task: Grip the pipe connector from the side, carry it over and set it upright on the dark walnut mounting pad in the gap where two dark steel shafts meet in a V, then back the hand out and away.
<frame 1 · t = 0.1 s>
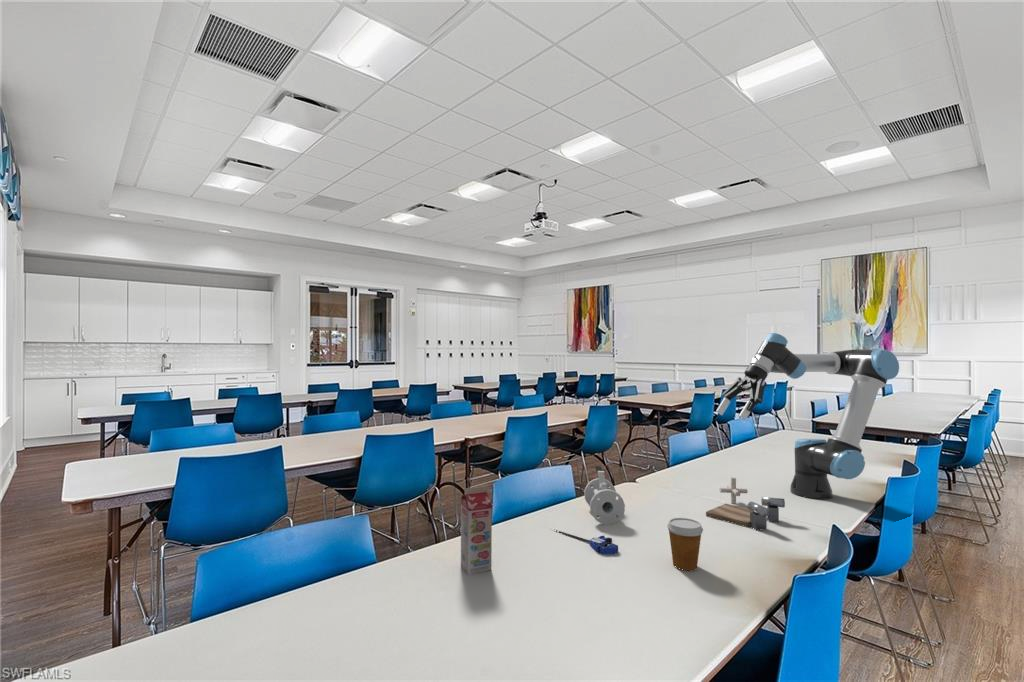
hand: (730, 415, 187), 36 cm above the table, tool tilted 35°, fingers open, 13 cm apart
bar clamp: (576, 539, 159), on the table
valve: (602, 515, 182), on the table
disposable coffee cup: (685, 566, 138), on the table
steel shaft B: (758, 528, 168), on the table
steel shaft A: (773, 520, 176), on the table
juice carton: (475, 568, 137), on the table
pipe connector: (733, 503, 195), on the table
mounting pad: (736, 516, 180), on the table
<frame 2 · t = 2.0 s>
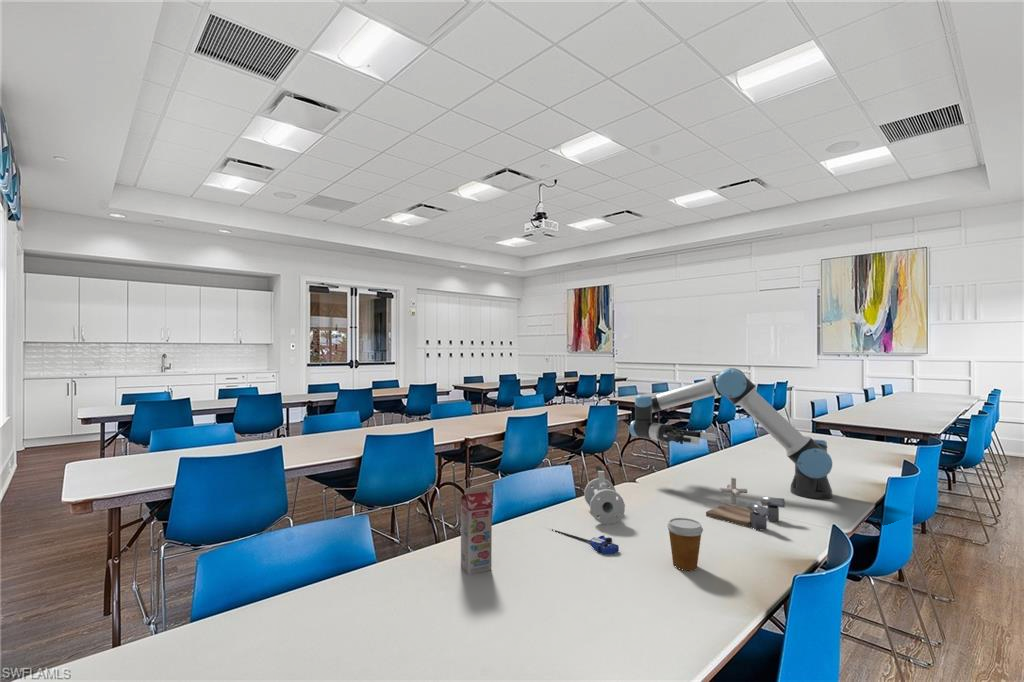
hand: (707, 439, 204), 24 cm above the table, tool horizontal, fingers open, 13 cm apart
nothing on the table moved.
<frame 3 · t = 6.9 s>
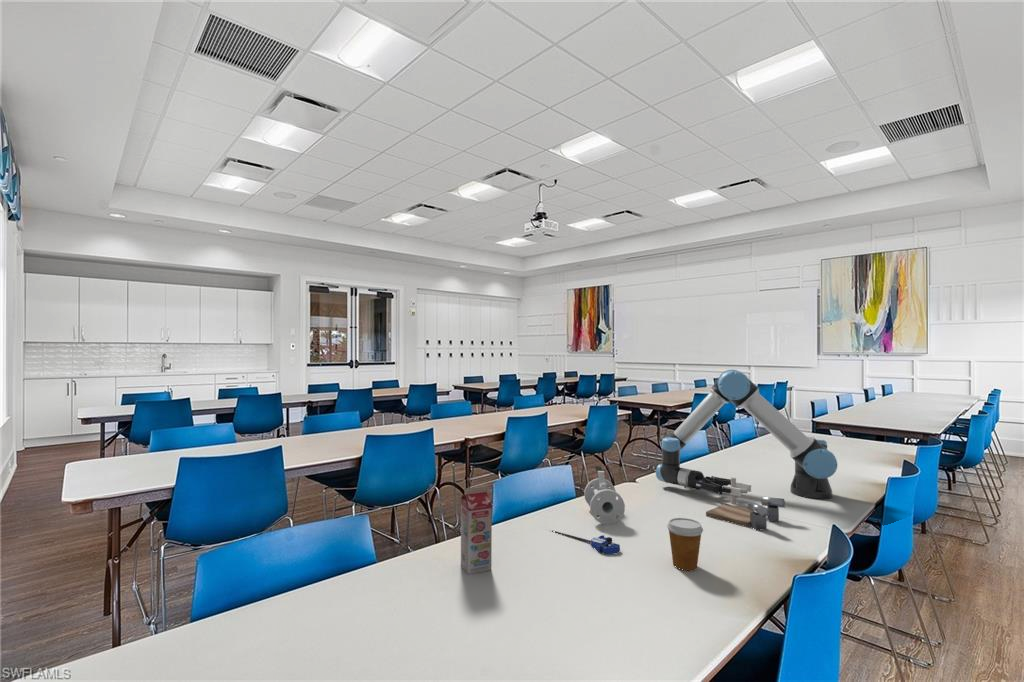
hand: (745, 490, 192), 6 cm above the table, tool horizontal, fingers closed on pipe connector, 8 cm apart
pipe connector: (733, 503, 195), on the table, touching gripper
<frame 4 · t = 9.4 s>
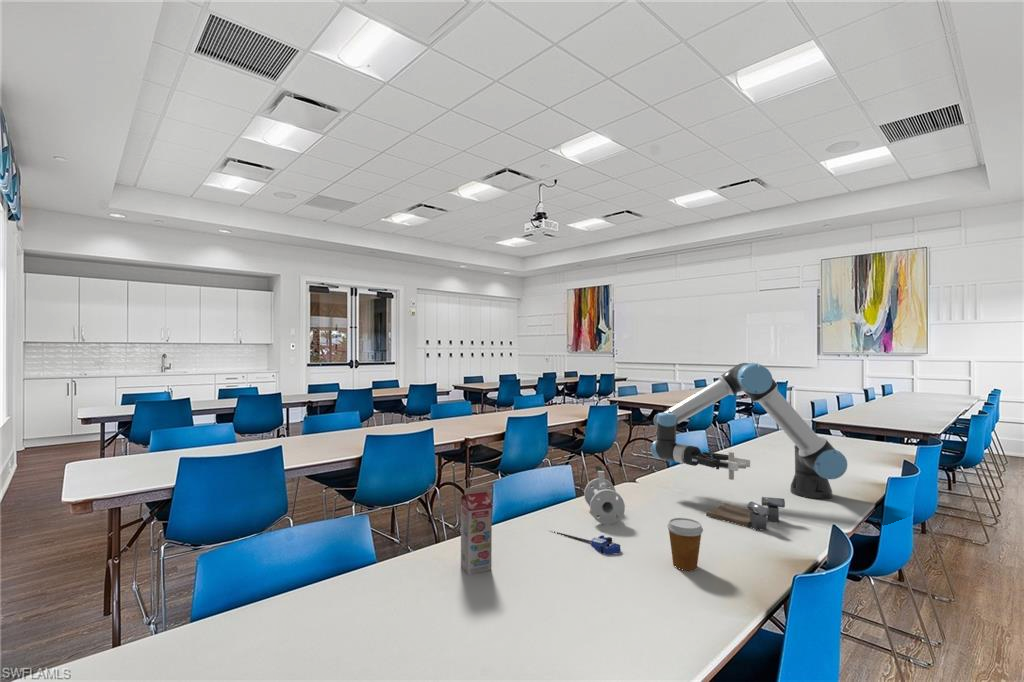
hand: (743, 465, 181), 18 cm above the table, tool horizontal, fingers closed on pipe connector, 8 cm apart
pipe connector: (731, 479, 185), point 12 cm above the table, touching gripper
when the fingers open (9 cm above the table, at t = 11.9 s): pipe connector drops 1 cm, resting on mounting pad.
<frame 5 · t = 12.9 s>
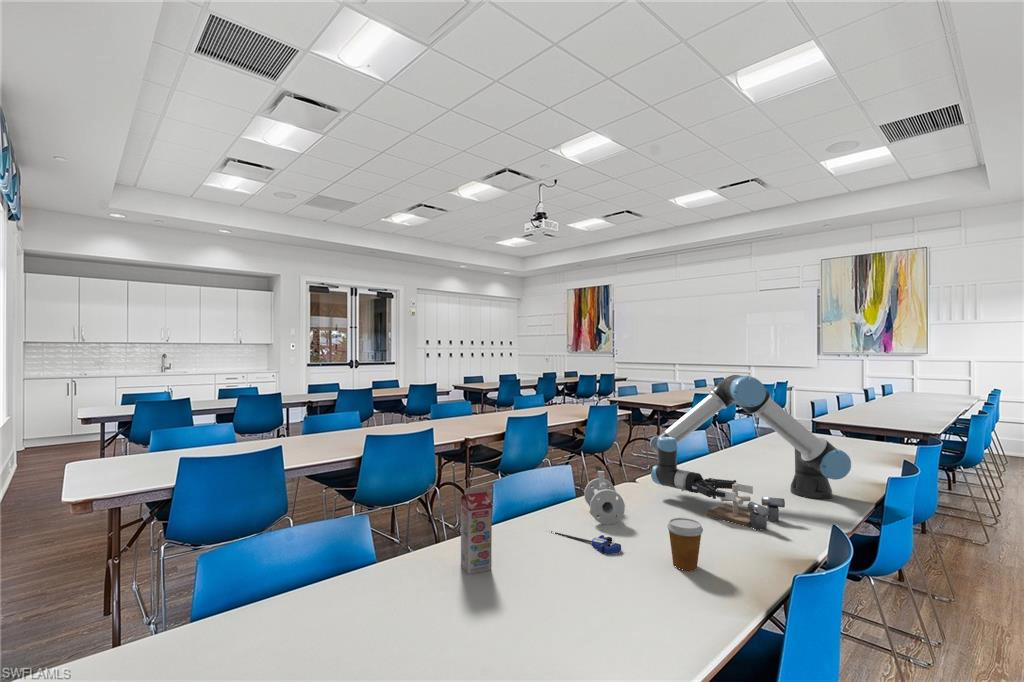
hand: (744, 493, 178), 9 cm above the table, tool horizontal, fingers open, 13 cm apart
pipe connector: (735, 513, 180), point 1 cm above the table, touching mounting pad
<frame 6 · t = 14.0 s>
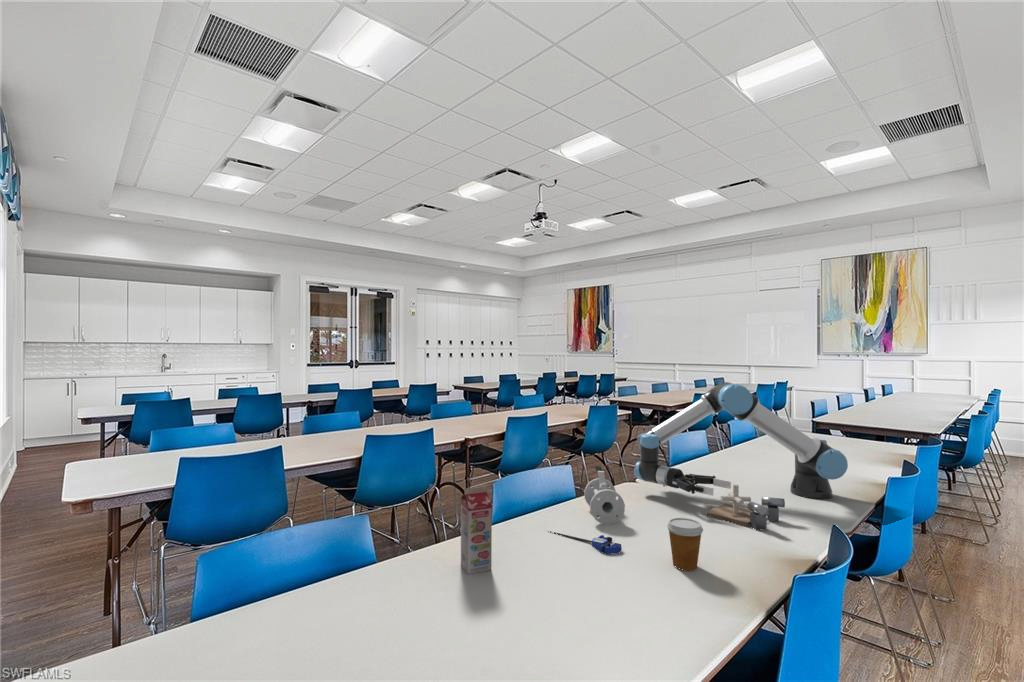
hand: (722, 488, 183), 9 cm above the table, tool horizontal, fingers open, 13 cm apart
nothing on the table moved.
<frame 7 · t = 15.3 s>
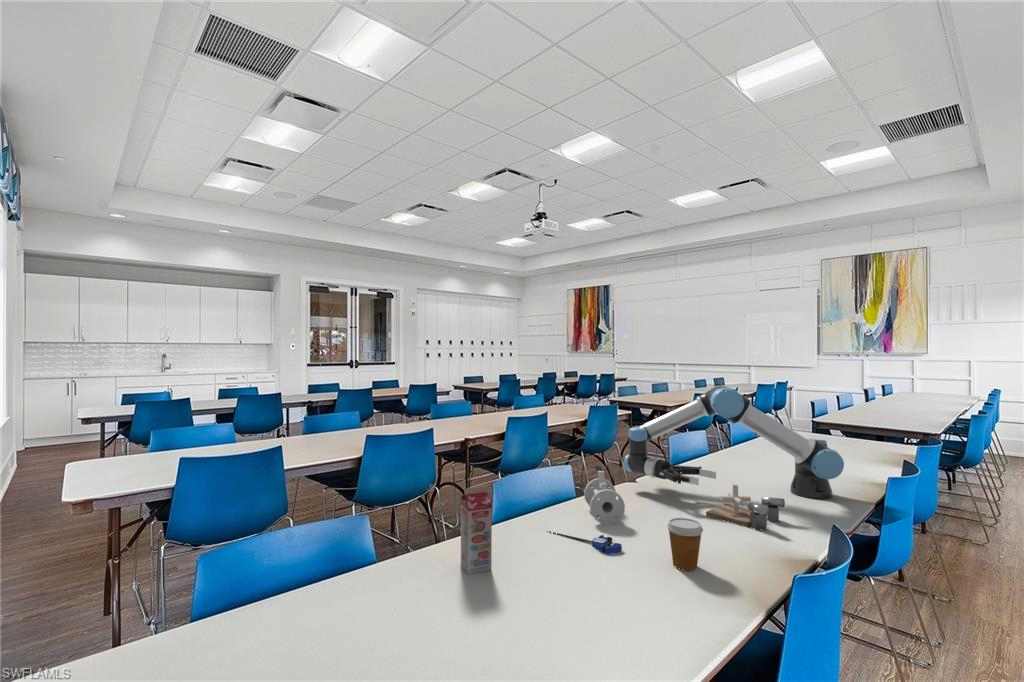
hand: (707, 478, 189), 11 cm above the table, tool horizontal, fingers open, 13 cm apart
nothing on the table moved.
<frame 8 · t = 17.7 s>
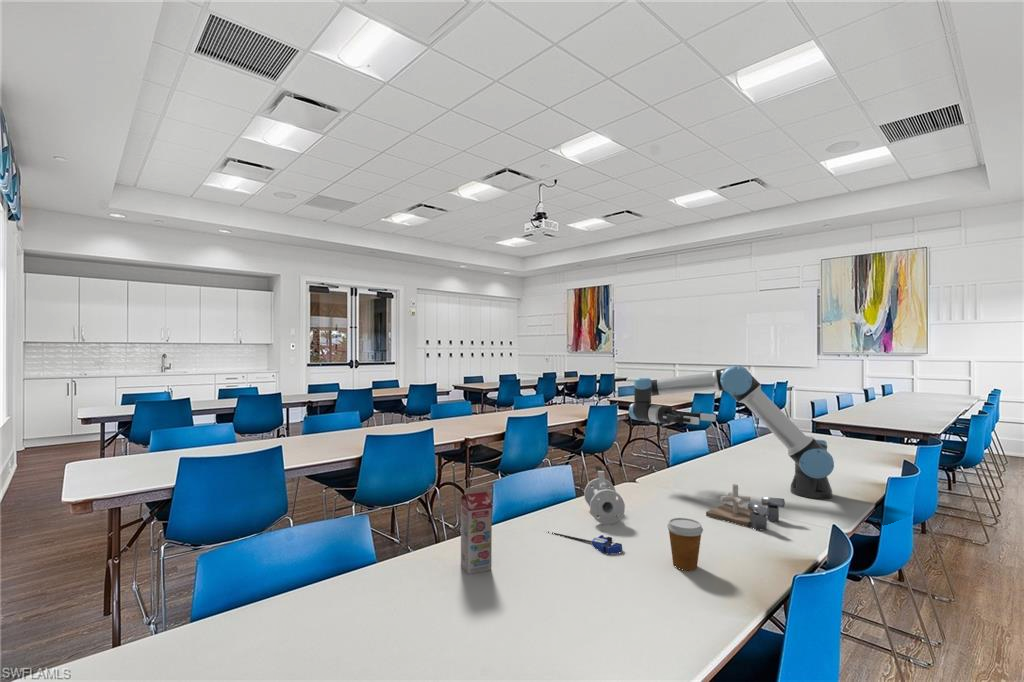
hand: (707, 419, 202), 32 cm above the table, tool horizontal, fingers open, 13 cm apart
at the end: pipe connector 0.1 cm off-centre on the mounting pad, point 1.3 cm above the mounting pad's base; pipe connector tilted 1°; the gripper is holding nothing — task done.
